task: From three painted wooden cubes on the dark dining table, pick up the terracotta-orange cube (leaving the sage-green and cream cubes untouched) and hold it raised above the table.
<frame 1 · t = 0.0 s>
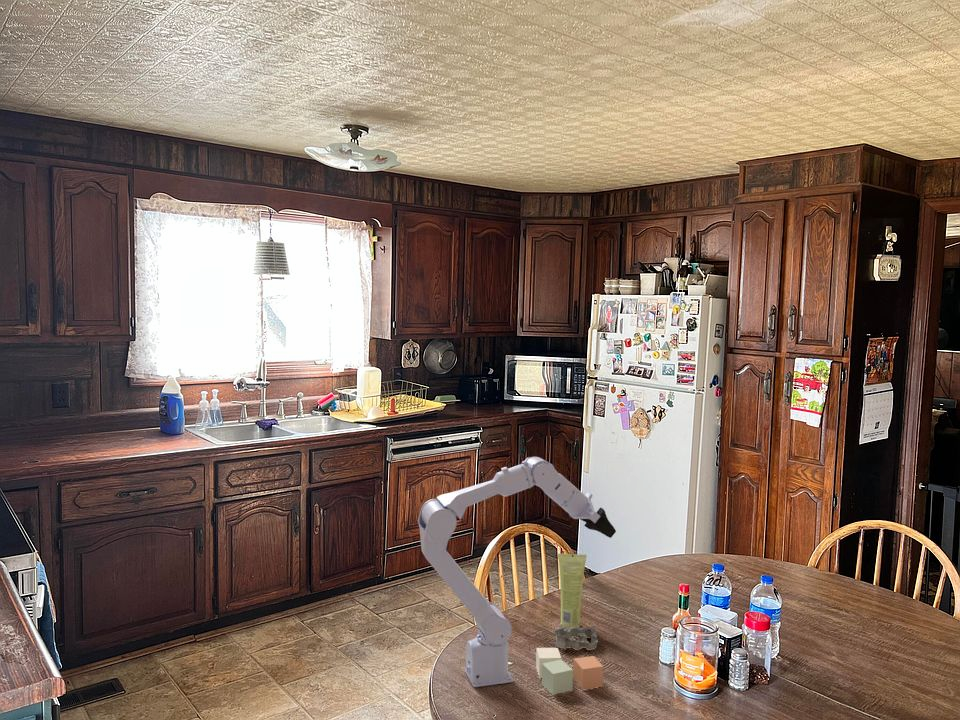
hand: (605, 529, 171), 32 cm above the table, tool tilted 50°, fingers open, 7 cm apart
terracotta block: (587, 683, 163), on the table
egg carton: (575, 645, 182), on the table
tube: (570, 626, 192), on the table
sage block: (556, 688, 161), on the table
cream block: (548, 673, 167), on the table
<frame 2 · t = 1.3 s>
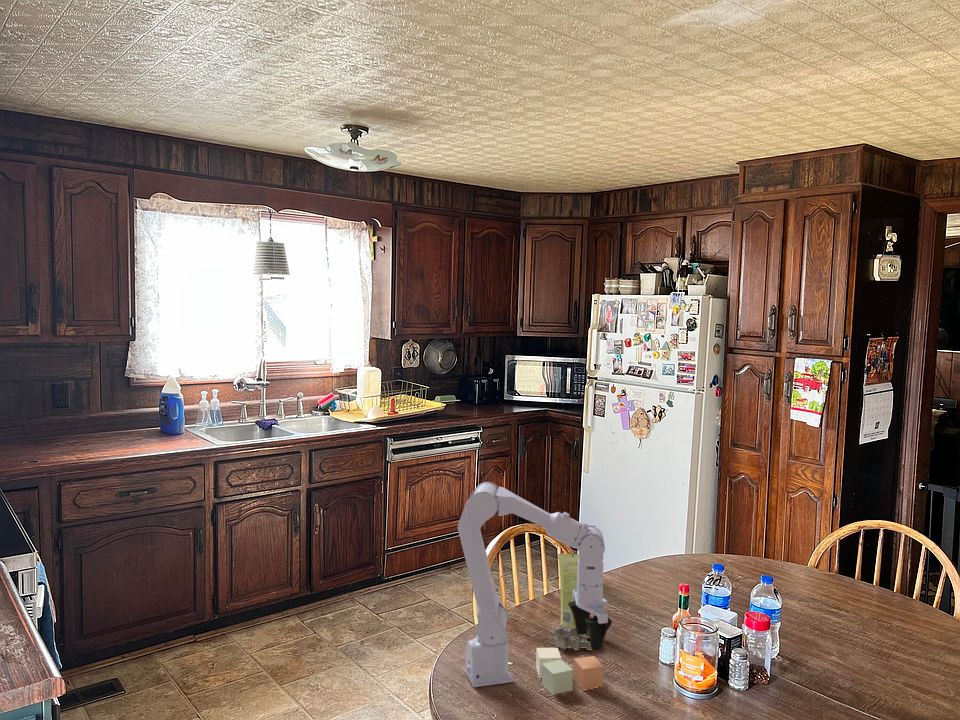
hand: (588, 641, 162), 10 cm above the table, tool pointing down, fingers open, 7 cm apart
nothing on the table moved.
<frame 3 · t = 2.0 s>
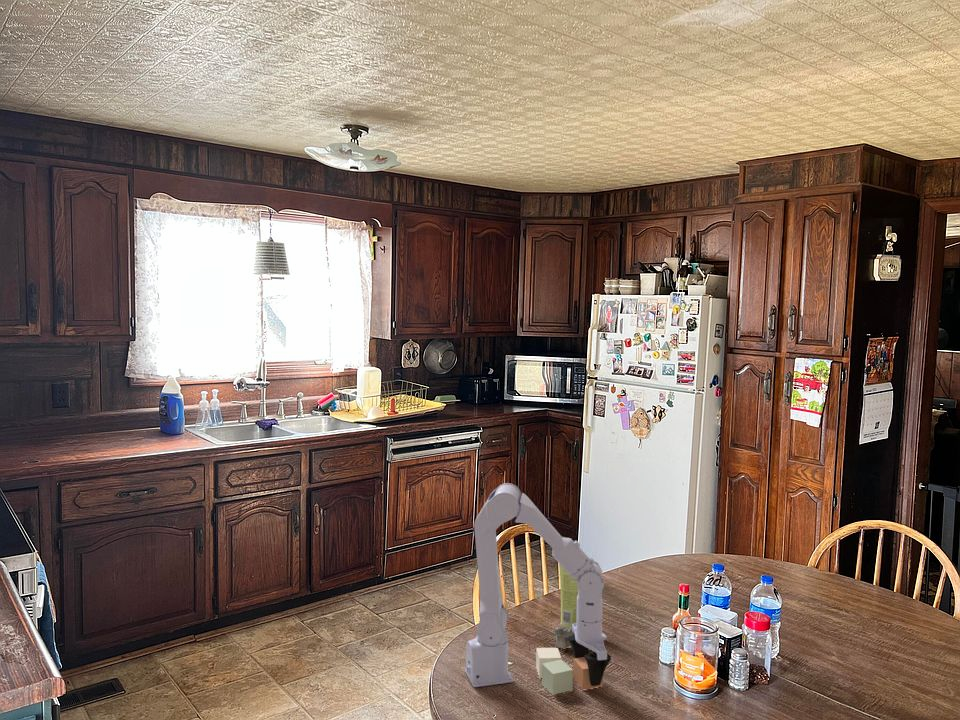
hand: (588, 676, 163), 2 cm above the table, tool pointing down, fingers open, 7 cm apart
nothing on the table moved.
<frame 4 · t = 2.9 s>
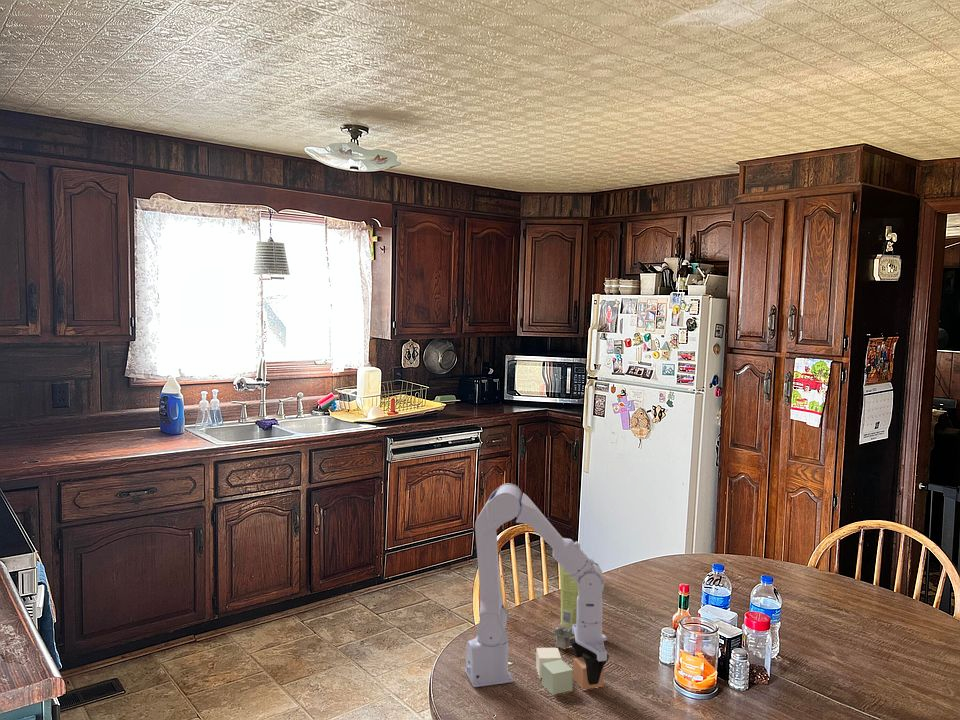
hand: (588, 677, 163), 1 cm above the table, tool pointing down, fingers closed on terracotta block, 5 cm apart
terracotta block: (587, 683, 163), on the table, touching gripper
everything else where it was.
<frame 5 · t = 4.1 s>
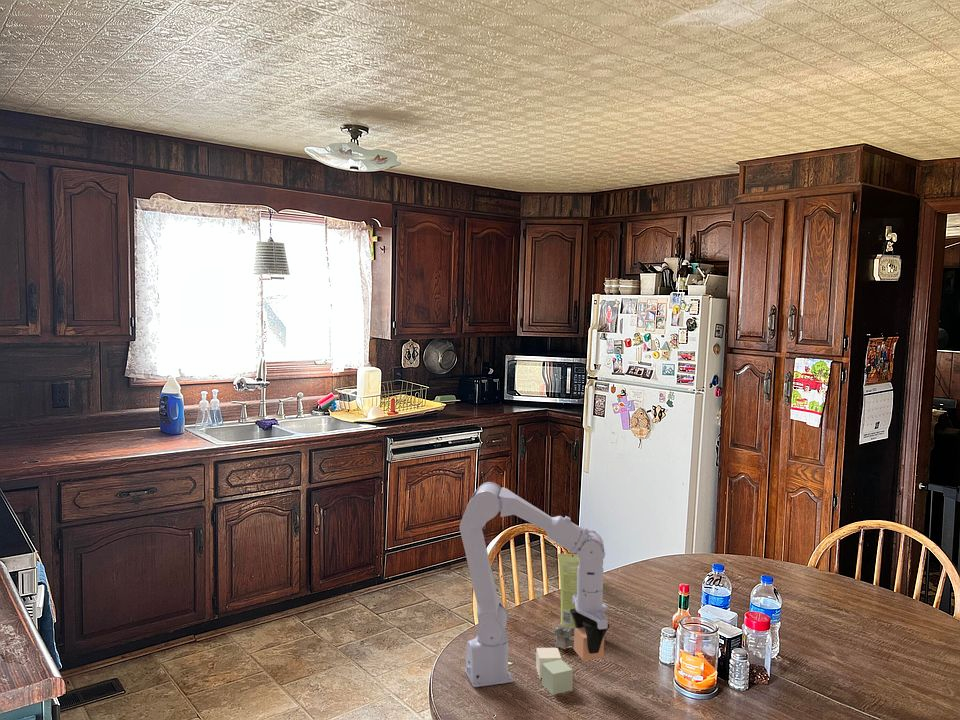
hand: (588, 646, 162), 9 cm above the table, tool pointing down, fingers closed on terracotta block, 5 cm apart
terracotta block: (588, 653, 162), point 7 cm above the table, touching gripper
everything else where it was.
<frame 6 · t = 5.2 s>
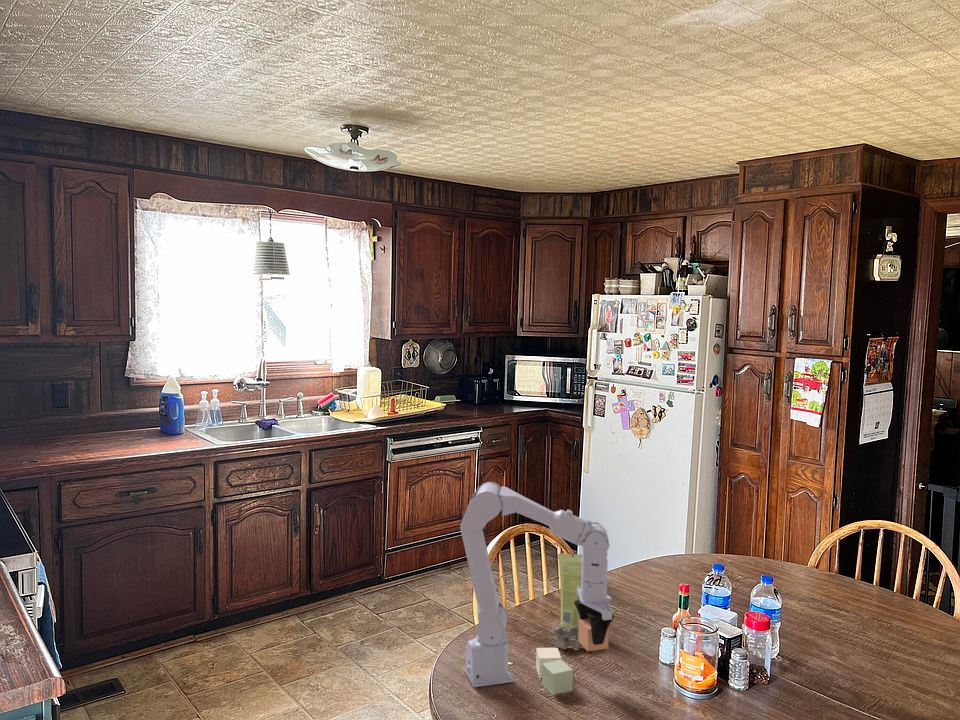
hand: (592, 638, 162), 10 cm above the table, tool pointing down, fingers closed on terracotta block, 5 cm apart
terracotta block: (593, 644, 162), point 9 cm above the table, touching gripper
everything else where it was.
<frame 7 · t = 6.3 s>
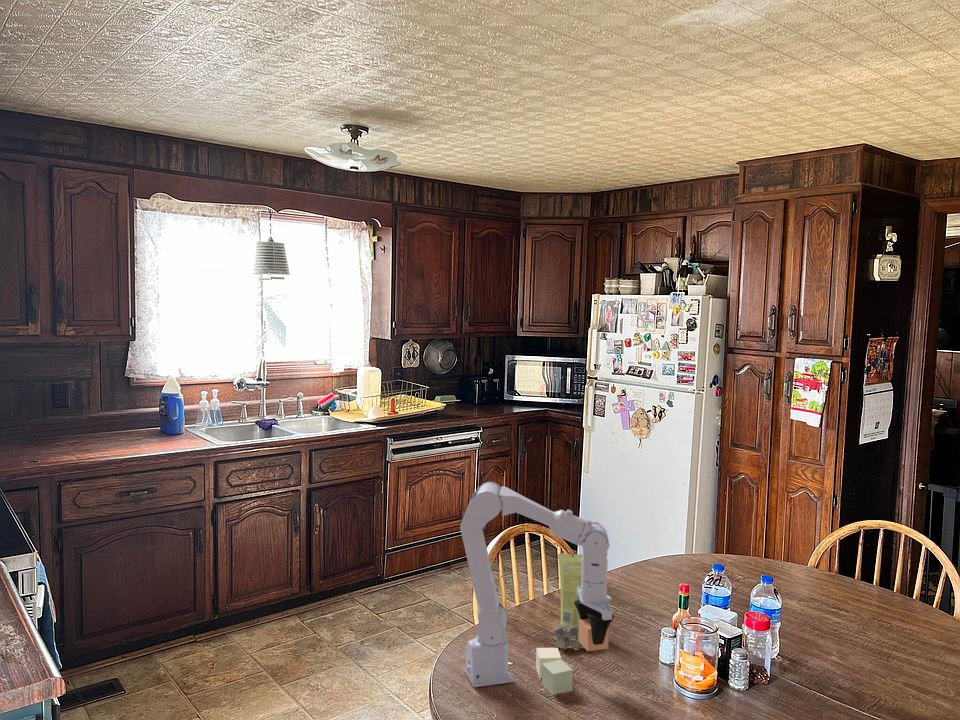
hand: (592, 638, 162), 10 cm above the table, tool pointing down, fingers closed on terracotta block, 5 cm apart
terracotta block: (593, 644, 162), point 9 cm above the table, touching gripper
everything else where it was.
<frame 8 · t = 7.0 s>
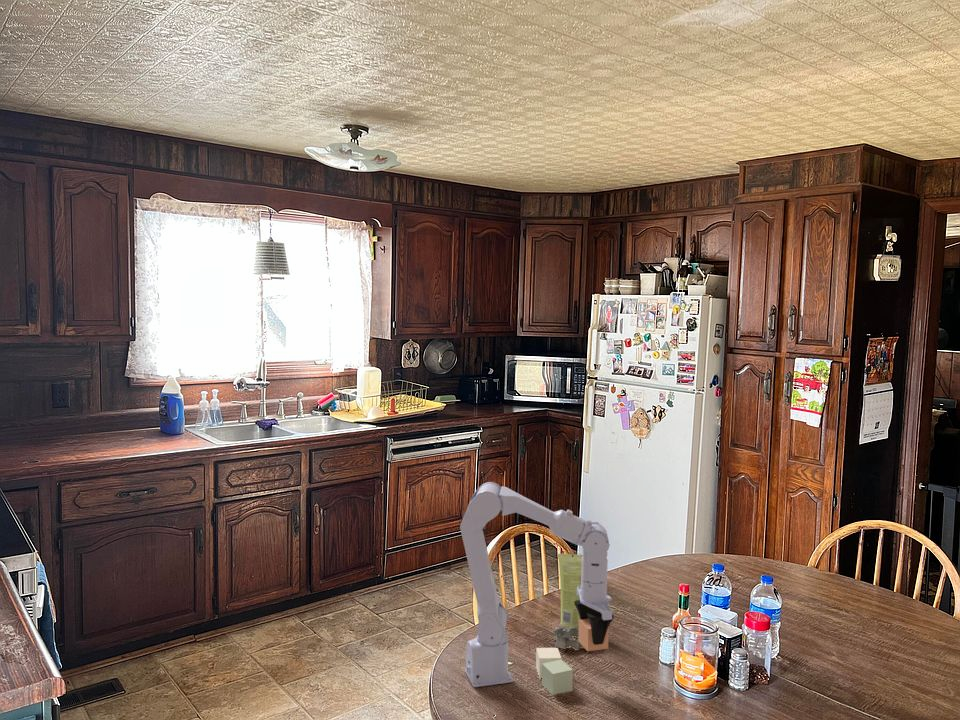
hand: (592, 638, 162), 10 cm above the table, tool pointing down, fingers closed on terracotta block, 5 cm apart
terracotta block: (593, 644, 162), point 9 cm above the table, touching gripper
everything else where it was.
at the end: the gripper is holding terracotta block; terracotta block point 8.8 cm above the table; sage block moved 0.1 cm from its start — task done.
